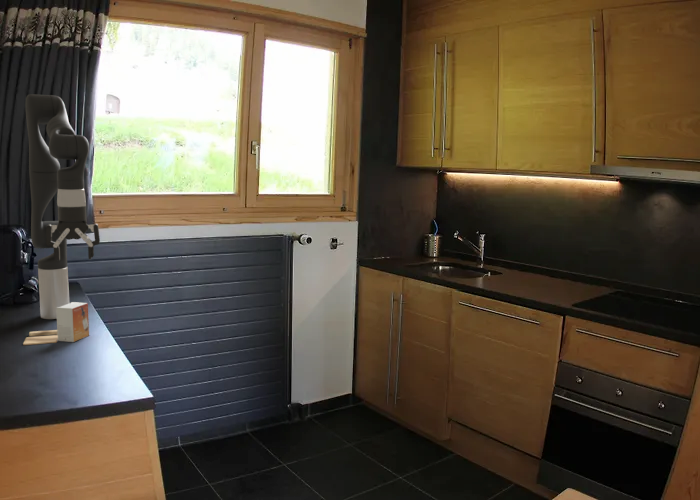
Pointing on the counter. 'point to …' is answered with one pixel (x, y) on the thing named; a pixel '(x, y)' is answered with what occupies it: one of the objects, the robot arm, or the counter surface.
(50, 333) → the turner
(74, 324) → the small box
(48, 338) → the plate
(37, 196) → the robot arm
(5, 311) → the counter surface
